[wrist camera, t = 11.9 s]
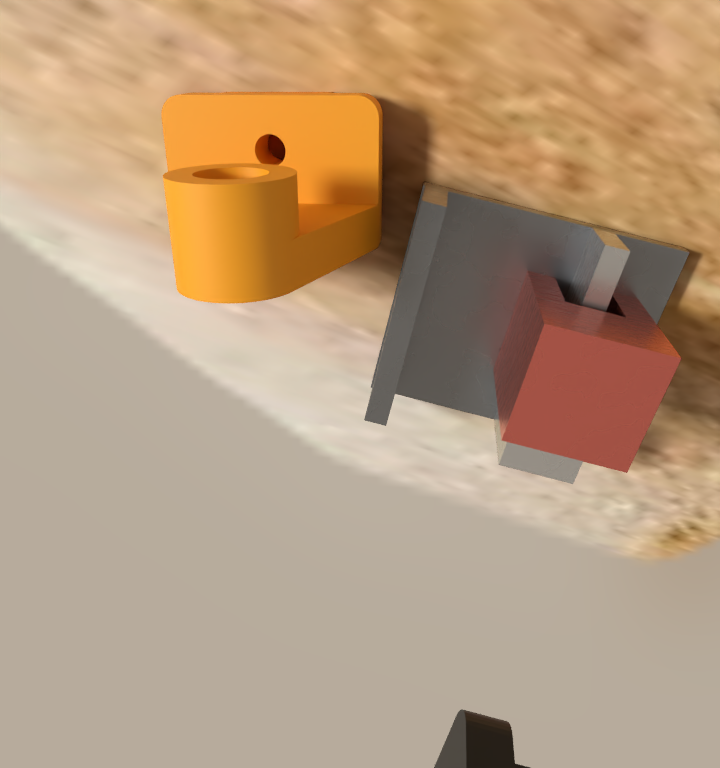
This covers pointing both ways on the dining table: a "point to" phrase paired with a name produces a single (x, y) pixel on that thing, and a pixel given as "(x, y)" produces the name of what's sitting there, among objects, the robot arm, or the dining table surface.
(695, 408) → the dining table surface
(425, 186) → the bracket
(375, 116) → the bracket
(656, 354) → the block
